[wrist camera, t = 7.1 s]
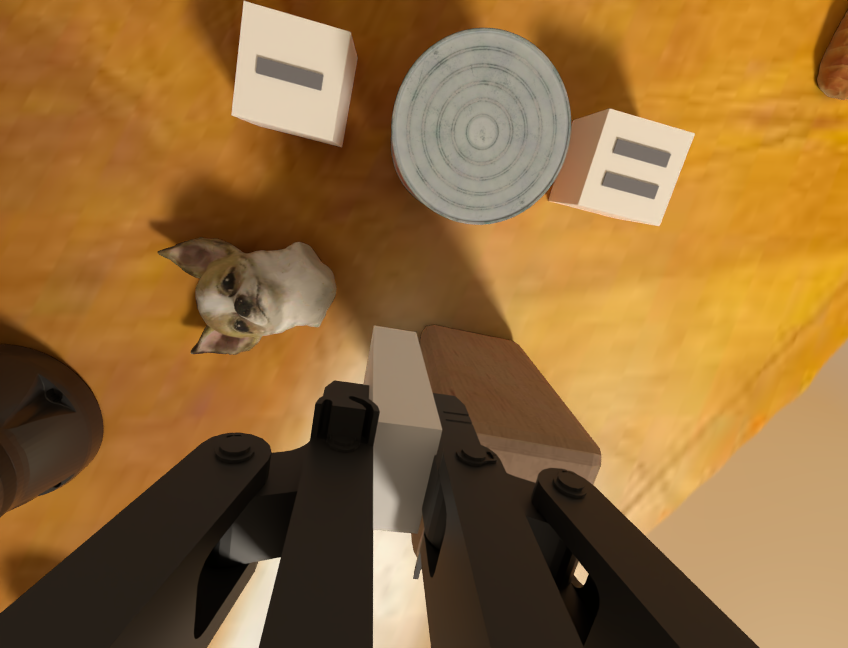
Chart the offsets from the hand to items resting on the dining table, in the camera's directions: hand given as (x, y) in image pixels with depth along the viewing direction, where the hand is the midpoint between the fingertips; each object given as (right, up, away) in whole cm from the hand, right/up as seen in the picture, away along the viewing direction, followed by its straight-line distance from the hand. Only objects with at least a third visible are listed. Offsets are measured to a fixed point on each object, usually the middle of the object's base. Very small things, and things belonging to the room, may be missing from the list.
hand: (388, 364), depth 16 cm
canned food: (+4, +17, +24) cm, 29 cm away
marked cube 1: (+17, +15, +25) cm, 34 cm away
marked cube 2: (-8, +21, +21) cm, 31 cm away
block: (+5, -4, +30) cm, 31 cm away
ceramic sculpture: (-14, +5, +26) cm, 30 cm away
